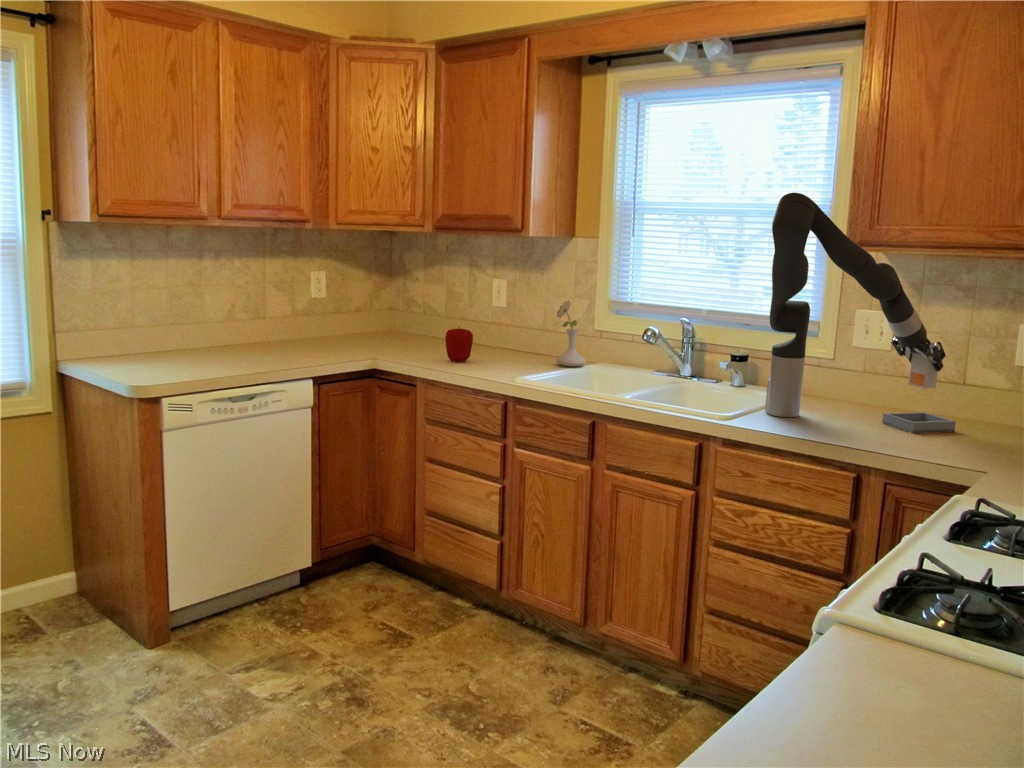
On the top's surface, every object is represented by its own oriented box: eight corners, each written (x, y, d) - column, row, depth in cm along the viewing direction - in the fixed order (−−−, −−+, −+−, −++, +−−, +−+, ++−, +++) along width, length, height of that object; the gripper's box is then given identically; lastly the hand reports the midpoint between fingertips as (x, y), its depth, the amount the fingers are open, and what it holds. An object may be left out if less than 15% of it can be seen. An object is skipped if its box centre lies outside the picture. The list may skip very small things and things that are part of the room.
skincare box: (907, 384, 245) (912, 342, 243) (919, 384, 247) (924, 341, 244) (924, 388, 239) (930, 345, 237) (936, 388, 241) (942, 345, 239)
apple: (474, 363, 329) (475, 327, 327) (447, 363, 327) (448, 327, 324) (469, 359, 339) (470, 324, 337) (443, 359, 337) (443, 324, 334)
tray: (882, 423, 249) (883, 413, 249) (922, 422, 253) (924, 412, 253) (912, 433, 238) (913, 422, 237) (954, 431, 242) (955, 421, 241)
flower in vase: (572, 362, 340) (575, 298, 336) (592, 367, 332) (595, 300, 327) (546, 365, 332) (549, 299, 328) (566, 369, 324) (569, 301, 319)
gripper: (875, 332, 240) (898, 372, 248) (923, 339, 228) (945, 381, 236) (890, 312, 242) (912, 353, 250) (938, 318, 230) (959, 361, 238)
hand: (928, 366), depth 243 cm, fingers closed on skincare box, 6 cm apart
